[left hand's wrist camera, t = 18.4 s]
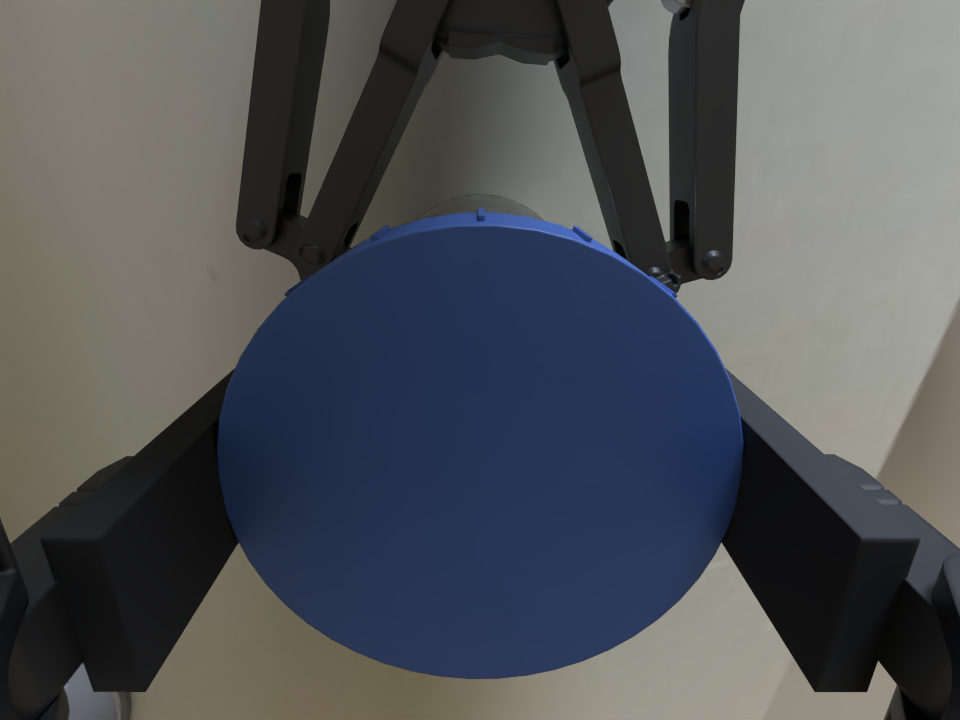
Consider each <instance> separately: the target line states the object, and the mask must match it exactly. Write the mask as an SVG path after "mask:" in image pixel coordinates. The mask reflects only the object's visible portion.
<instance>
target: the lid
mask: <svg viewBox="0 0 960 720" xmlns="http://www.w3.org/2000/svg"><path fill="white" fill-rule="evenodd" d="M284 295H285V296H287V297H286V298H285V299H284V300H283V301H282V302H281V303H280V304H279V305H278V306H277V307H276V308H275V310H274V311H273V312H272V313H271V314H270V315H269V316H268V318H267V319H266V320H265V321H264V322H263V323H262V325H261V326H260V327H259V328H258V329H257V331H256V333H255V334H254V336H253V337H252V339H251V341H250V342H249V344H248V345H247V347H246V349H245V350H244V352H243V353H242V355H241V357H240V359H239V361H238V363H237V366H236V368H235V370H234V373H233V375H232V377H231V380H230V382H229V384H228V387H227V390H226V394H225V398H224V402H223V406H222V410H221V414H220V418H219V429H218V440H217V461H218V471H219V477H220V483H221V488H222V493H223V498H224V502H225V507H226V512H227V515H228V518H229V520H230V523H231V526H232V528H233V531H234V534H235V536H236V538H237V540H238V541H239V543H240V545H241V547H242V549H243V551H244V553H245V554H246V556H247V558H248V560H249V561H250V563H251V564H252V566H253V567H254V568H255V570H256V571H257V572H258V574H259V575H260V577H261V578H262V579H263V581H264V582H265V584H266V585H267V586H268V587H269V588H270V589H271V590H272V591H273V592H274V593H275V594H276V595H277V596H278V597H279V599H280V600H281V601H282V602H283V603H284V604H285V605H286V606H287V607H289V608H290V609H291V610H292V611H293V612H295V613H296V614H297V615H298V616H299V617H300V618H302V619H303V620H304V621H305V622H306V623H308V624H309V625H311V626H312V627H314V628H315V629H317V630H318V631H320V632H321V633H323V634H324V635H326V636H327V637H329V638H330V639H332V640H334V641H336V642H337V643H339V644H341V645H343V646H345V647H347V648H349V649H351V650H353V651H355V652H357V653H359V654H362V655H364V656H367V657H369V658H372V659H374V660H377V661H379V662H382V663H385V664H388V665H392V666H395V667H399V668H402V669H406V670H409V671H413V672H419V673H424V674H430V675H435V676H441V677H453V678H465V679H498V678H508V677H517V676H526V675H531V674H536V673H541V672H546V671H551V670H556V669H559V668H562V667H565V666H569V665H572V664H575V663H578V662H581V661H584V660H587V659H589V658H591V657H594V656H596V655H598V654H601V653H603V652H605V651H608V650H610V649H612V648H614V647H615V646H617V645H619V644H621V643H623V642H624V641H626V640H628V639H630V638H632V637H633V636H635V635H637V634H638V633H639V632H641V631H642V630H644V629H645V628H647V627H648V626H649V625H651V624H652V623H654V622H655V621H656V620H658V619H659V618H660V617H661V616H662V615H664V614H665V613H666V612H667V611H668V610H669V609H670V608H671V607H673V606H674V605H675V604H676V603H677V602H678V601H679V600H680V599H681V598H682V597H683V596H684V595H685V594H686V592H687V591H688V590H689V589H690V588H691V587H692V586H693V585H694V583H695V582H696V581H697V580H698V579H699V577H700V576H701V575H702V573H703V572H704V570H705V569H706V567H707V566H708V564H709V563H710V561H711V560H712V558H713V557H714V555H715V554H716V552H717V550H718V548H719V546H720V544H721V542H722V540H723V538H724V536H725V534H726V532H727V530H728V527H729V524H730V521H731V518H732V515H733V512H734V509H735V504H736V500H737V495H738V490H739V484H740V479H741V474H742V468H743V435H742V428H741V420H740V412H739V408H738V404H737V401H736V398H735V394H734V391H733V387H732V384H731V380H730V378H729V376H728V374H727V372H726V370H725V368H724V365H723V363H722V361H721V359H720V357H719V355H718V353H717V351H716V349H715V348H714V346H713V345H712V343H711V342H710V340H709V339H708V337H707V336H706V334H705V333H704V331H703V330H702V328H701V327H700V325H699V324H698V323H697V321H696V320H695V319H694V318H693V317H692V316H691V315H690V314H689V313H688V312H687V311H686V310H685V308H684V307H683V306H682V305H681V304H680V303H679V302H678V301H677V300H676V299H675V298H676V297H677V295H676V294H675V293H674V292H673V291H672V290H670V289H669V288H667V287H666V286H665V285H663V284H662V283H660V282H659V281H658V280H656V279H655V278H653V277H652V276H651V277H649V276H647V275H646V274H645V273H643V272H642V271H641V270H639V269H638V268H637V267H635V266H634V265H632V264H631V263H630V262H628V261H627V260H625V259H624V258H623V257H621V256H620V255H619V254H617V253H615V252H614V251H612V250H610V249H608V248H607V247H605V246H603V245H602V244H600V243H598V242H597V241H595V240H593V239H592V237H591V236H589V235H588V234H586V233H585V232H584V231H582V230H581V229H580V228H578V227H576V226H574V227H573V229H572V230H570V229H568V228H565V227H563V226H561V225H557V224H553V223H550V222H546V221H542V220H538V219H534V218H530V217H526V216H518V215H509V214H501V213H484V208H478V213H456V214H450V215H443V216H437V217H430V218H424V219H421V220H418V221H414V222H411V223H408V224H404V225H401V226H397V227H394V228H392V229H390V228H389V226H388V225H387V226H385V227H383V228H381V229H380V230H379V231H377V232H376V233H375V234H373V235H372V236H371V237H370V238H369V239H367V240H365V241H363V242H361V243H360V244H358V245H357V246H355V247H353V248H352V249H350V250H349V251H347V252H346V253H344V254H342V255H341V256H339V257H338V258H336V259H335V260H333V261H332V262H331V263H329V264H328V265H326V266H325V267H324V268H322V269H321V270H319V271H318V272H317V273H315V274H314V275H312V276H311V275H309V276H308V277H306V278H305V279H303V280H302V281H301V282H299V283H298V284H296V285H295V286H294V287H292V288H291V289H289V290H288V291H287V292H286V293H285V294H284Z"/></svg>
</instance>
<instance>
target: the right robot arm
mask: <svg viewBox="0 0 960 720" xmlns="http://www.w3.org/2000/svg"><path fill="white" fill-rule="evenodd" d="M612 1H613V0H397V2H396V5H395V7H394V9H393V11H392V14H391V16H390V18H389V21H388V23H387V25H386V28H385V30H384V33H383V35H382V38H381V42H380V47H379V53H378V57H377V59H376V62H375V64H374V66H373V69H372V71H371V73H370V75H369V78H368V80H367V82H366V85H365V87H364V89H363V92H362V94H361V96H360V99H359V101H358V103H357V106H356V108H355V110H354V113H353V115H352V117H351V119H350V122H349V124H348V126H347V129H346V131H345V133H344V136H343V138H342V140H341V143H340V145H339V147H338V150H337V152H336V154H335V156H334V159H333V161H332V163H331V166H330V168H329V170H328V173H327V175H326V177H325V180H324V182H323V184H322V187H321V189H320V191H319V194H318V196H317V198H316V200H315V203H314V205H313V207H312V210H311V212H310V214H309V217H308V218H306V217H303V216H301V215H300V210H301V203H302V197H303V190H304V184H305V177H306V171H307V164H308V158H309V151H310V145H311V138H312V131H313V125H314V118H315V112H316V105H317V99H318V92H319V86H320V79H321V73H322V66H323V59H324V53H325V46H326V40H327V33H328V26H329V16H330V0H261V9H260V18H259V26H258V35H257V44H256V53H255V62H254V71H253V79H252V88H251V97H250V106H249V115H248V124H247V132H246V141H245V150H244V159H243V168H242V177H241V185H240V194H239V203H238V212H237V221H236V231H237V235H238V237H239V239H240V240H241V241H242V242H243V243H244V244H245V245H246V246H248V247H250V248H252V249H266V250H268V251H270V252H273V253H275V254H278V255H280V256H282V257H284V258H286V259H288V260H289V261H291V262H292V263H293V264H294V266H295V267H296V268H297V270H298V272H299V275H300V280H301V281H302V280H303V279H305V278H306V277H308V276H309V275H311V276H312V275H314V274H315V273H317V272H318V271H319V270H321V269H322V268H324V267H325V266H326V265H328V264H329V263H331V262H332V261H333V260H335V259H336V258H338V257H339V256H341V255H342V254H344V253H346V252H347V251H349V250H350V249H352V248H351V247H350V245H351V243H352V241H353V239H354V237H355V235H356V233H357V230H358V228H359V226H360V224H361V222H362V220H363V218H364V216H365V213H366V211H367V209H368V207H369V205H370V203H371V201H372V198H373V196H374V194H375V192H376V190H377V188H378V186H379V183H380V181H381V179H382V177H383V175H384V173H385V171H386V168H387V166H388V164H389V162H390V160H391V158H392V156H393V153H394V151H395V149H396V147H397V145H398V143H399V141H400V138H401V136H402V134H403V132H404V130H405V128H406V126H407V123H408V121H409V119H410V117H411V115H412V113H413V111H414V109H415V106H416V104H417V102H418V100H419V98H420V96H421V94H422V91H423V89H424V88H425V86H426V85H427V83H428V82H429V80H430V78H431V77H432V75H433V73H434V71H435V68H436V66H437V64H438V62H439V60H440V58H441V56H442V53H443V51H444V52H446V53H449V55H450V58H460V59H473V60H474V59H479V58H483V57H488V56H492V55H497V54H500V55H503V56H505V57H508V58H511V59H513V60H516V61H518V62H521V63H525V64H538V65H547V64H548V63H549V61H553V60H554V64H555V67H556V70H557V74H558V77H559V80H560V83H561V86H562V89H563V91H564V93H565V95H566V96H567V99H568V101H569V105H570V108H571V111H572V114H573V118H574V121H575V124H576V128H577V131H578V134H579V138H580V141H581V144H582V148H583V151H584V154H585V158H586V161H587V164H588V168H589V171H590V174H591V178H592V181H593V184H594V188H595V191H596V194H597V198H598V201H599V204H600V208H601V211H602V214H603V218H604V221H605V224H606V227H607V231H608V234H609V237H610V241H611V244H612V247H613V251H614V252H615V253H617V254H619V255H620V256H621V257H623V258H624V259H625V260H627V261H628V262H630V263H631V264H632V265H634V266H635V267H637V268H638V269H639V270H641V271H642V272H643V273H645V274H646V275H647V276H649V277H651V276H652V277H653V278H655V279H656V280H658V281H659V282H660V283H662V284H663V285H665V286H666V287H667V288H669V289H670V290H672V291H673V292H674V293H675V294H676V293H677V292H678V291H679V288H680V285H681V284H683V283H687V282H690V281H694V280H698V279H701V278H704V279H706V280H714V279H718V278H720V277H722V276H723V275H724V274H726V273H727V271H728V270H729V268H730V267H731V262H732V249H733V218H734V186H735V155H736V124H737V92H738V61H739V29H740V13H741V10H742V7H743V4H744V1H745V0H661V2H662V4H663V6H664V7H665V8H666V9H667V10H668V11H669V12H671V13H674V15H673V19H672V23H671V30H670V37H669V55H668V59H669V176H670V241H668V242H665V240H664V236H663V233H662V229H661V225H660V221H659V218H658V214H657V210H656V206H655V203H654V199H653V195H652V191H651V187H650V184H649V180H648V176H647V172H646V169H645V165H644V161H643V157H642V154H641V150H640V146H639V142H638V139H637V135H636V131H635V127H634V124H633V120H632V116H631V112H630V109H629V105H628V101H627V97H626V94H625V90H624V86H623V82H622V78H621V73H620V67H621V60H620V53H619V48H618V44H617V40H616V37H615V33H614V29H613V25H612V21H611V18H610V14H609V10H608V7H609V5H610V4H611V3H612Z"/></svg>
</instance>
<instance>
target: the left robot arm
mask: <svg viewBox="0 0 960 720" xmlns="http://www.w3.org/2000/svg"><path fill="white" fill-rule="evenodd" d="M234 370H235V369H234ZM234 370H232V371H231V372H230V373H229V374H228V375H227V376H226V377H224V378H223V379H222V380H221V381H220V382H219V383H218V384H216V385H215V386H214V387H213V388H212V389H211V390H210V391H208V392H207V393H206V394H205V395H204V396H203V397H201V398H200V399H199V400H198V401H197V402H196V403H195V404H193V405H192V406H191V407H190V408H189V409H188V410H187V411H185V412H184V413H183V414H182V415H181V416H180V417H179V418H177V419H176V420H175V421H174V422H173V423H172V424H171V425H169V426H168V427H167V428H166V429H165V430H164V431H162V432H161V433H160V434H159V435H158V436H157V437H156V438H154V439H153V440H152V441H151V442H150V443H149V444H148V445H146V446H145V447H144V448H143V449H142V450H141V451H140V452H138V453H137V454H136V455H135V456H126V457H124V458H122V459H120V460H119V461H117V462H115V463H113V464H111V465H109V466H107V467H105V468H103V469H101V470H99V471H98V472H96V473H95V474H94V475H93V476H91V477H90V478H89V479H88V480H87V481H85V482H84V483H83V484H82V485H81V486H79V487H78V488H77V492H72V493H71V494H70V495H69V496H67V497H66V498H65V499H64V500H63V501H61V502H60V503H59V504H60V505H59V507H54V508H53V509H52V510H50V511H49V512H48V513H47V514H46V515H44V516H43V517H42V518H41V519H40V520H38V521H37V522H36V523H35V524H34V525H32V526H31V527H30V528H29V529H27V530H26V531H25V532H24V533H23V534H21V535H20V536H19V537H18V538H17V539H15V540H14V541H13V542H12V543H11V544H10V543H9V540H8V537H7V535H6V532H5V529H4V527H3V524H2V521H1V519H0V720H129V718H130V713H131V696H130V692H146V690H147V689H148V687H149V686H150V684H151V682H152V681H153V679H154V677H155V676H156V674H157V673H158V671H159V669H160V668H161V666H162V665H163V663H164V661H165V660H166V658H167V657H168V655H169V653H170V652H171V650H172V649H173V647H174V645H175V644H176V642H177V641H178V639H179V637H180V636H181V634H182V633H183V631H184V629H185V628H186V626H187V624H188V623H189V621H190V620H191V618H192V616H193V615H194V613H195V612H196V610H197V608H198V607H199V605H200V604H201V602H202V600H203V599H204V597H205V596H206V594H207V592H208V591H209V589H210V588H211V586H212V584H213V583H214V581H215V580H216V578H217V576H218V575H219V573H220V571H221V570H222V568H223V567H224V565H225V563H226V562H227V560H228V559H229V557H230V555H231V554H232V552H233V551H234V549H235V547H236V546H237V544H238V543H239V541H238V540H237V538H236V536H235V534H234V531H233V528H232V526H231V523H230V520H229V518H228V515H227V512H226V507H225V502H224V498H223V493H222V488H221V483H220V477H219V471H218V461H217V440H218V429H219V418H220V414H221V410H222V406H223V402H224V398H225V394H226V390H227V387H228V384H229V382H230V380H231V377H232V375H233V373H234ZM725 370H726V372H727V374H728V376H729V378H730V380H731V384H732V387H733V391H734V394H735V398H736V401H737V404H738V408H739V412H740V420H741V428H742V435H743V468H742V474H741V479H740V484H739V490H738V495H737V500H736V504H735V509H734V512H733V515H732V518H731V521H730V524H729V527H728V530H727V532H726V534H725V536H724V538H723V540H722V544H723V545H724V547H725V548H726V550H727V552H728V553H729V555H730V557H731V558H732V560H733V561H734V563H735V565H736V566H737V568H738V569H739V571H740V573H741V574H742V576H743V577H744V579H745V581H746V582H747V584H748V585H749V587H750V589H751V590H752V592H753V593H754V595H755V597H756V598H757V600H758V601H759V603H760V605H761V606H762V608H763V610H764V611H765V613H766V614H767V616H768V618H769V619H770V621H771V622H772V624H773V626H774V627H775V629H776V630H777V632H778V634H779V635H780V637H781V638H782V640H783V642H784V643H785V645H786V646H787V648H788V650H789V651H790V653H791V654H792V656H793V658H794V659H795V661H796V662H797V664H798V666H799V667H800V669H801V670H802V672H803V674H804V675H805V677H806V679H807V680H808V682H809V683H810V685H811V687H812V688H813V690H814V691H815V692H867V690H868V687H869V685H870V682H871V679H872V676H873V673H874V670H875V668H876V665H877V662H878V661H879V662H880V663H881V665H882V666H883V667H884V668H885V670H886V671H887V672H888V673H889V675H890V676H891V677H892V679H893V680H894V681H895V682H896V684H897V686H896V689H895V692H894V694H893V697H892V700H891V702H890V705H889V708H888V710H887V713H886V716H885V718H884V720H960V549H959V548H958V547H957V546H956V545H955V544H953V543H952V542H951V541H950V540H949V539H947V538H946V537H945V536H944V535H942V534H941V533H940V532H939V531H938V530H936V529H935V528H934V527H933V526H931V525H930V524H929V523H928V522H927V521H925V520H924V519H923V518H922V517H920V516H919V515H918V514H917V513H916V512H914V511H913V510H912V509H911V508H910V507H908V506H907V505H902V501H901V500H900V499H899V498H897V497H896V496H895V495H894V494H893V493H891V492H890V491H889V490H884V486H883V485H882V484H880V483H879V482H878V481H877V480H876V479H874V478H873V477H872V476H871V475H869V474H868V473H867V472H866V471H865V470H863V469H862V468H860V467H858V466H856V465H854V464H852V463H850V462H848V461H846V460H844V459H842V458H840V457H838V456H836V455H834V454H823V453H822V452H821V451H820V450H819V449H817V448H816V447H815V446H814V445H813V444H812V443H811V442H809V441H808V440H807V439H806V438H805V437H804V436H802V435H801V434H800V433H799V432H798V431H797V430H796V429H794V428H793V427H792V426H791V425H790V424H789V423H788V422H786V421H785V420H784V419H783V418H782V417H781V416H780V415H778V414H777V413H776V412H775V411H774V410H773V409H771V408H770V407H769V406H768V405H767V404H766V403H765V402H763V401H762V400H761V399H760V398H759V397H758V396H757V395H755V394H754V393H753V392H752V391H751V390H750V389H749V388H747V387H746V386H745V385H744V384H743V383H742V382H740V381H739V380H738V379H737V378H736V377H735V376H734V375H732V374H731V373H730V372H729V371H728V370H727V369H726V368H725Z"/></svg>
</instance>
